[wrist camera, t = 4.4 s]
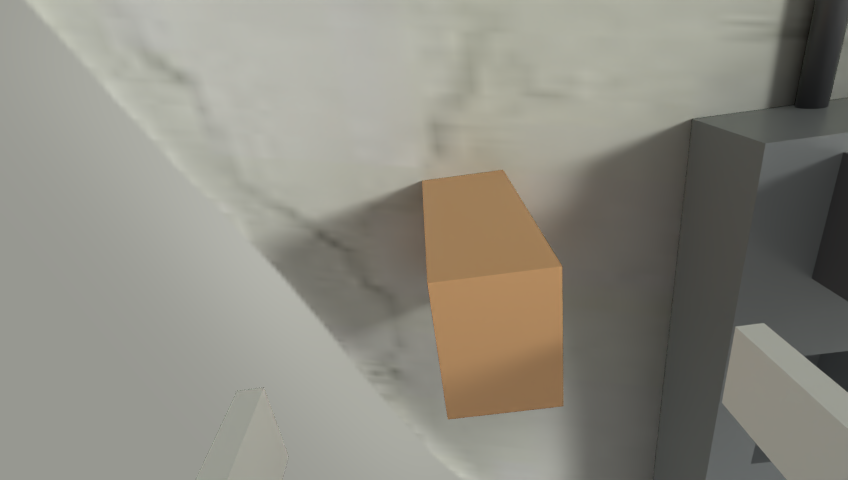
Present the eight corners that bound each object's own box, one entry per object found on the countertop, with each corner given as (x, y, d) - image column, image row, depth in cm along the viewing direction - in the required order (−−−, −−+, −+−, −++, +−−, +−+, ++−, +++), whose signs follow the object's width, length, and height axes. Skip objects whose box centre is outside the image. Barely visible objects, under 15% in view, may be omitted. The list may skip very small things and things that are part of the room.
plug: (422, 180, 23) (427, 283, 14) (503, 169, 23) (562, 266, 14) (435, 277, 25) (447, 419, 16) (509, 267, 25) (563, 406, 16)
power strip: (721, -147, 18) (1048, -331, 9) (994, -190, 17) (1641, -430, 8) (649, 509, 34) (737, 688, 24) (791, 494, 33) (933, 671, 24)
